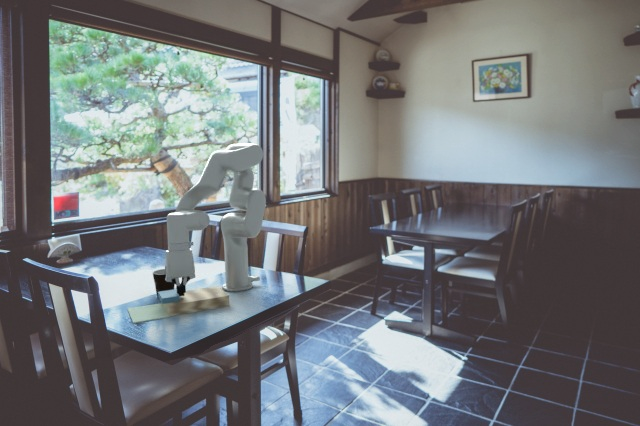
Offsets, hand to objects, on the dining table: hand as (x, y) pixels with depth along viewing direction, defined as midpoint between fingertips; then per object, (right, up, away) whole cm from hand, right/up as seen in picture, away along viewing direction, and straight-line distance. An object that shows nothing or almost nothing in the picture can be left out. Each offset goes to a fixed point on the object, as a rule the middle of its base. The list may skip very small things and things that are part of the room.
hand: (181, 295), depth 180 cm
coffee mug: (-11, -3, +17) cm, 20 cm away
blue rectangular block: (-4, -1, -2) cm, 5 cm away
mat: (-11, -6, -5) cm, 13 cm away
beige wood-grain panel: (+4, -4, +3) cm, 7 cm away
